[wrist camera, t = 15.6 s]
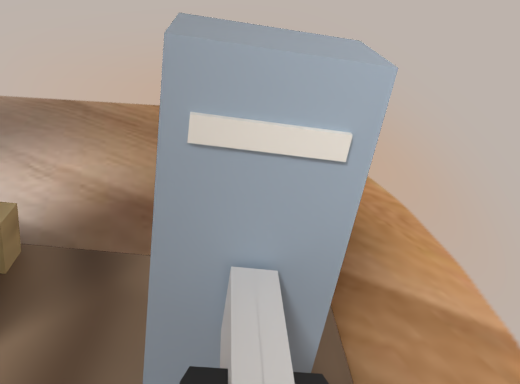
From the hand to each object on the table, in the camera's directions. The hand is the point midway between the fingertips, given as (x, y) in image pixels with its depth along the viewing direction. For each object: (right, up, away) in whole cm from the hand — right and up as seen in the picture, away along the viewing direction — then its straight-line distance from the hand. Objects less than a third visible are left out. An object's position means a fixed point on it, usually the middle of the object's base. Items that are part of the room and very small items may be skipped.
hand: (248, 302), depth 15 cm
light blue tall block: (-1, -4, +5) cm, 6 cm away
